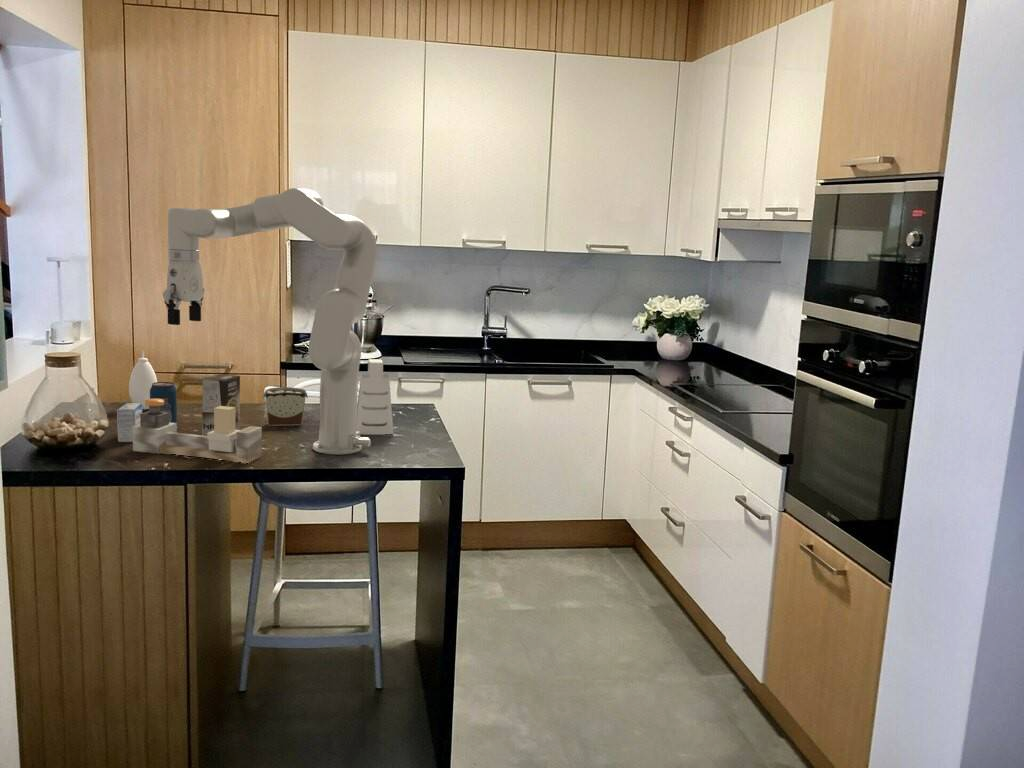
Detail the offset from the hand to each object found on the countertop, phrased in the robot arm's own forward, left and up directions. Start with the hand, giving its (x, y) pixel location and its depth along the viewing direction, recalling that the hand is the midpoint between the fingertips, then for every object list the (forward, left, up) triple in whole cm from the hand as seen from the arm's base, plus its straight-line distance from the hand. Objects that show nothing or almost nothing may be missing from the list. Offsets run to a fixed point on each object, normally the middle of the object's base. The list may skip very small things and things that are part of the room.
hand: (184, 322), depth 238 cm
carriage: (-20, +16, -28) cm, 38 cm away
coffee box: (-9, -2, -30) cm, 32 cm away
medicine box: (+10, +10, -30) cm, 33 cm away
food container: (-17, -23, -30) cm, 42 cm away
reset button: (-1, +16, -21) cm, 27 cm away
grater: (-43, -26, -30) cm, 59 cm away
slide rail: (-13, +16, -30) cm, 36 cm away
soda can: (+10, -5, -30) cm, 32 cm away
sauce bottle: (+26, -21, -30) cm, 45 cm away
